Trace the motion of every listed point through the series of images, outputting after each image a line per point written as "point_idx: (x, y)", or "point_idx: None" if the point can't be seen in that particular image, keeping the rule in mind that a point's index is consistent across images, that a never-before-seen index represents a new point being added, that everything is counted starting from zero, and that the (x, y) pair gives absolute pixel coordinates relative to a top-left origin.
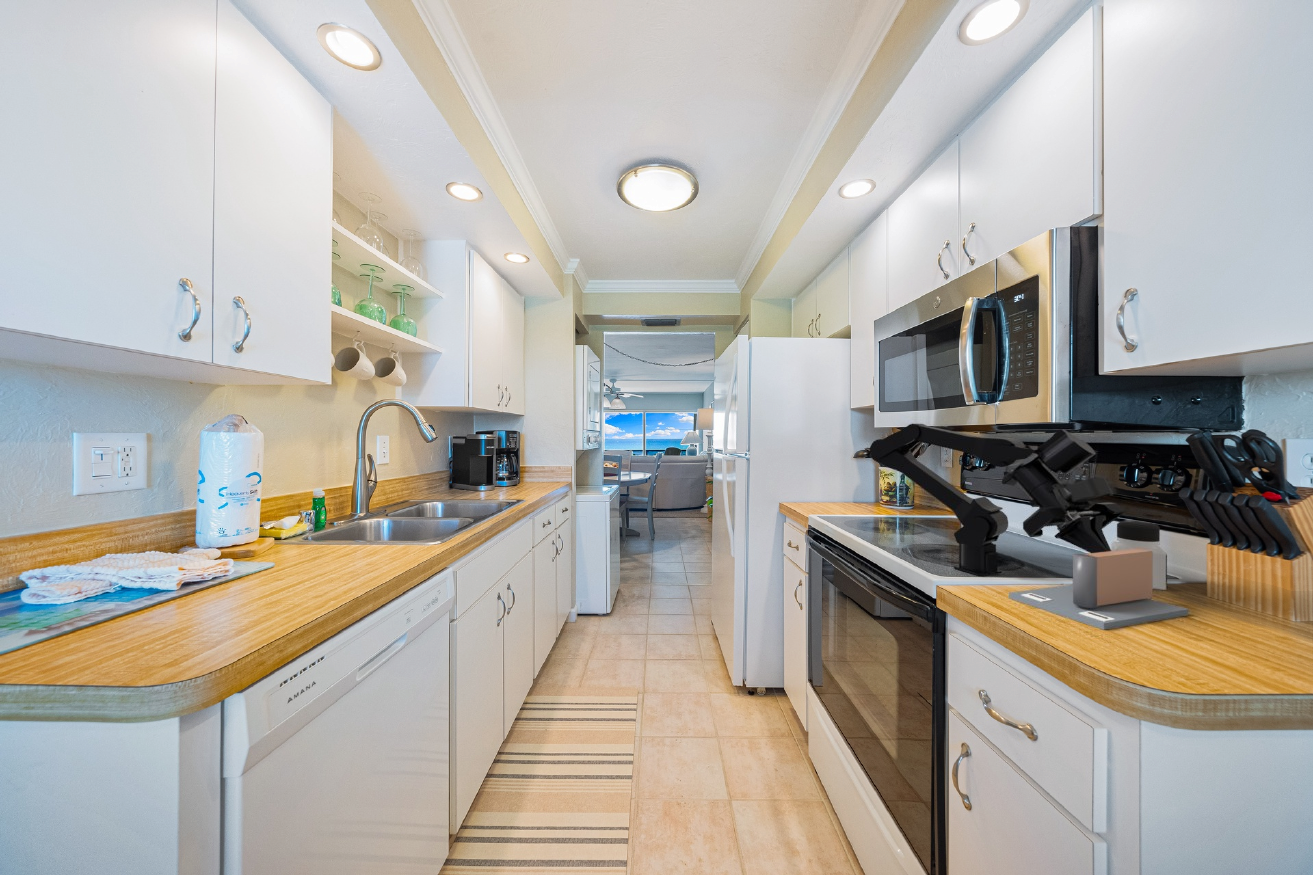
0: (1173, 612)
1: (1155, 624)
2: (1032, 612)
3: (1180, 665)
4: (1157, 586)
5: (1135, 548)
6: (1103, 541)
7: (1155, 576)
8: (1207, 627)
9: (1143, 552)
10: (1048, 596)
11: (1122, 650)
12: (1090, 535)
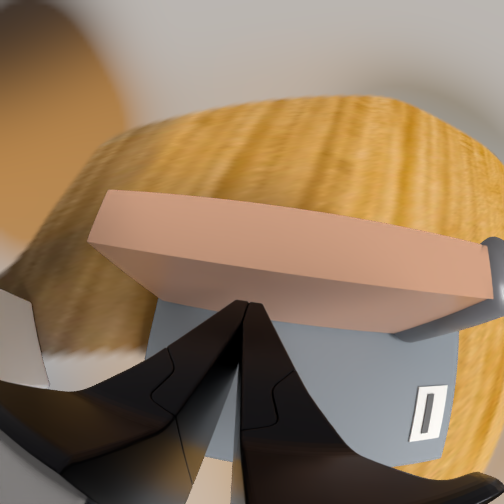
0: None
1: None
2: (474, 367)
3: (453, 159)
4: (29, 313)
5: (107, 242)
6: (216, 347)
7: (15, 311)
8: (250, 173)
9: (164, 196)
10: (395, 413)
11: (479, 206)
12: (312, 404)
